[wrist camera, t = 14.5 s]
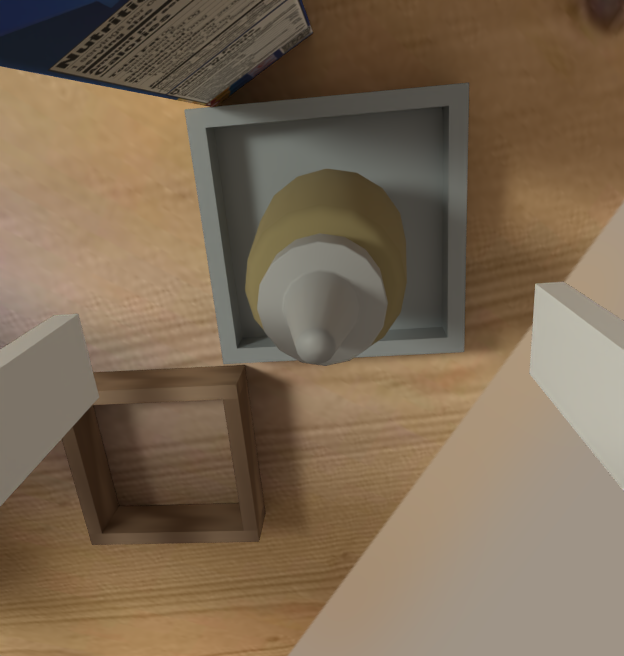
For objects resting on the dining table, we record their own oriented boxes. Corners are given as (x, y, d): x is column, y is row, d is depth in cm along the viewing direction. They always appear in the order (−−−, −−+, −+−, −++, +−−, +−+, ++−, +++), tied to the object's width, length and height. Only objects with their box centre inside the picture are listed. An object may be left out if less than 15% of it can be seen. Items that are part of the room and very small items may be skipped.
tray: (231, 348, 36) (223, 363, 33) (197, 111, 31) (184, 109, 28) (456, 337, 34) (464, 351, 32) (459, 86, 29) (469, 82, 27)
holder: (109, 516, 41) (91, 544, 39) (71, 373, 37) (48, 393, 34) (265, 513, 40) (259, 541, 38) (244, 365, 36) (236, 384, 33)
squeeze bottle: (337, 322, 34) (327, 508, 17) (240, 238, 32) (123, 353, 16) (427, 228, 31) (519, 338, 15) (327, 134, 30) (300, 134, 13)
